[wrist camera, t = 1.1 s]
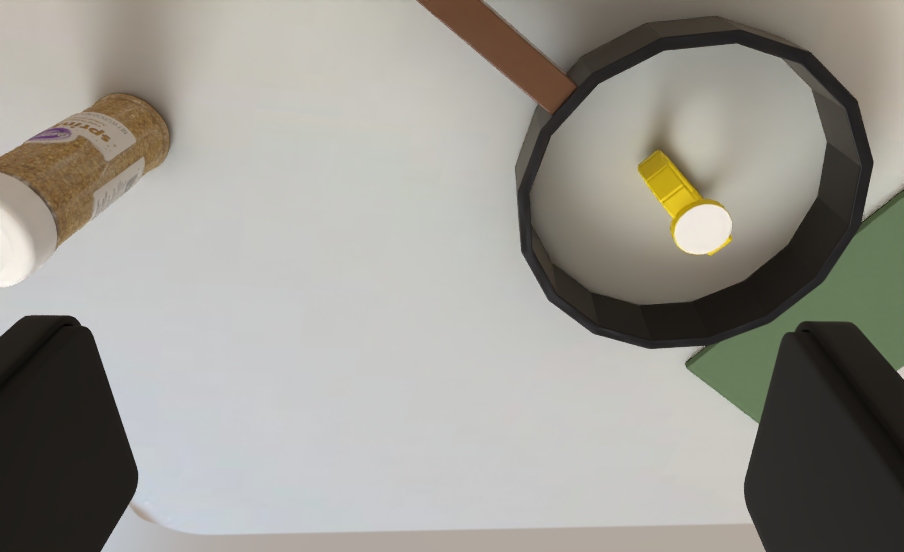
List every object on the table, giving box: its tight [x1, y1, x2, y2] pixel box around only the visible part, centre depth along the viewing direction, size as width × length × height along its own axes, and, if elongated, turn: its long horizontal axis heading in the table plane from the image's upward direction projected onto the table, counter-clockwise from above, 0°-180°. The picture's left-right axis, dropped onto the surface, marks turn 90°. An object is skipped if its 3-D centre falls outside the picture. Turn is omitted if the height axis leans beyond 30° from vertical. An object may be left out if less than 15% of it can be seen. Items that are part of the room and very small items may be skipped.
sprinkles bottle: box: [0, 94, 170, 288], centre depth 32 cm, size 5×5×13 cm
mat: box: [685, 190, 904, 423], centre depth 41 cm, size 20×10×1 cm, turn 141°
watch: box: [638, 150, 732, 255], centre depth 35 cm, size 6×3×6 cm, turn 45°
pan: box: [417, 0, 874, 349], centre depth 34 cm, size 28×17×4 cm, turn 51°
